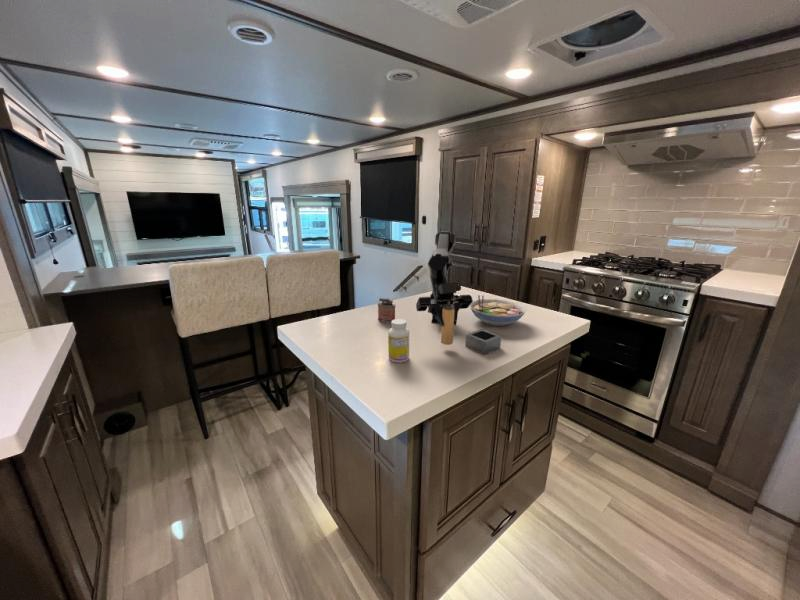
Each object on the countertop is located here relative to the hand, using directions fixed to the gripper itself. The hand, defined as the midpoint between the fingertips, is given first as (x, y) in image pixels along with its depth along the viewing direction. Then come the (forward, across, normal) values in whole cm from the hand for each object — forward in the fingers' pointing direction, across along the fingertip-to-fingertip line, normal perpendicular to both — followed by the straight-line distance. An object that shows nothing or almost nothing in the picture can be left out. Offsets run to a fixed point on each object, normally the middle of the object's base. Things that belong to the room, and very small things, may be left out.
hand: (449, 325), depth 104 cm
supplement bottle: (+8, -17, +5) cm, 20 cm away
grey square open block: (+6, +13, +7) cm, 16 cm away
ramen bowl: (-9, +29, +22) cm, 37 cm away
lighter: (-16, -16, +30) cm, 38 cm away
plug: (+4, 0, +6) cm, 7 cm away
